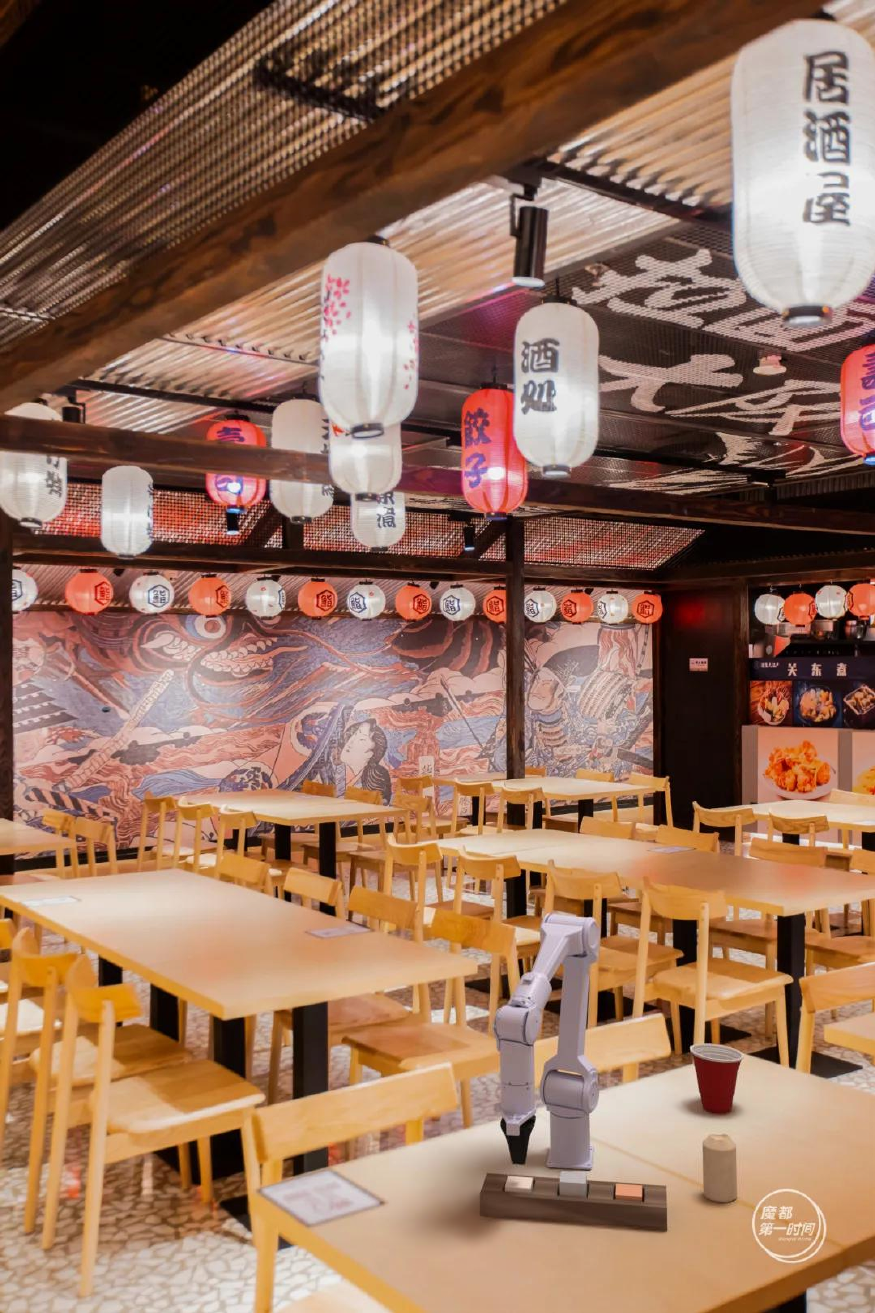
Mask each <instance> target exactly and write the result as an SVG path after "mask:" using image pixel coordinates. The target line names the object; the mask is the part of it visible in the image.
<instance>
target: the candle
mask: <svg viewBox="0 0 875 1313" xmlns="http://www.w3.org/2000/svg"><path fill="white" fill-rule="evenodd" d="M737 1168H738V1167H737V1144H736V1143H735V1142H734V1140H733V1139H732V1138H731V1136H729V1135H728V1134H727V1133H722V1134H716V1133H712V1134H709V1135H708V1136H707V1137H706V1138H705V1139H703V1141H702V1174H703V1176H702V1178H703V1179H702V1181H703V1195H704V1197H705V1198H706V1199H708V1200H711V1201H714V1202H717V1203H730V1202H731V1203H732V1202H733V1200H734V1199H735V1200H737V1198H738V1172H737ZM735 1200H734V1201H735Z"/></svg>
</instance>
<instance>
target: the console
mask: <svg viewBox="0 0 875 1313" xmlns="http://www.w3.org/2000/svg"><path fill="white" fill-rule="evenodd" d="M508 1176H517V1177H531V1178H533V1194H532V1193H519V1192H505V1185H506V1181H507V1178H508ZM559 1182H560V1177H550V1176H548V1177H547V1176H536V1175H535V1176H534V1175H521V1174H507V1173H493V1172H486V1175H485V1176H484V1180H483V1183H482V1186H481V1188H480V1189H481V1190H480V1193H479V1216H481V1217H482V1216H483V1217H493V1218H505V1219H518V1220H531V1221H542V1222H543V1221H545V1222H557V1223H570V1224H571V1223H572V1224H582V1225H583V1224H584V1225H593V1226H607V1227H619V1228H632V1229H644V1230H646V1229H647V1230H658V1231H668V1204H667V1203H668V1202H667V1201H668V1200H667V1185H662V1184H661V1185H660V1184H649V1183H647V1184H645V1183H633V1182H621V1181H620V1182H619V1181H604V1180H593V1179H592V1180H591V1179H590V1180H589V1179H587V1198H586V1197H572V1196H560V1185H559ZM616 1184H629V1185H642V1202H639V1201H626V1200H616V1198H615V1194H616Z"/></svg>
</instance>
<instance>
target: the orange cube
mask: <svg viewBox="0 0 875 1313" xmlns="http://www.w3.org/2000/svg"><path fill="white" fill-rule="evenodd" d="M615 1198H616V1200H626V1201H639V1202H642V1185H629V1184H616V1194H615Z"/></svg>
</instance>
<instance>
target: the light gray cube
mask: <svg viewBox="0 0 875 1313" xmlns="http://www.w3.org/2000/svg"><path fill="white" fill-rule="evenodd" d="M559 1178H560V1182H559V1185H560V1196H572V1197H586V1198H587V1180H588V1173H587V1172H579V1171H568V1170H567V1171H565V1170H561V1172H560V1177H559Z"/></svg>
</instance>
